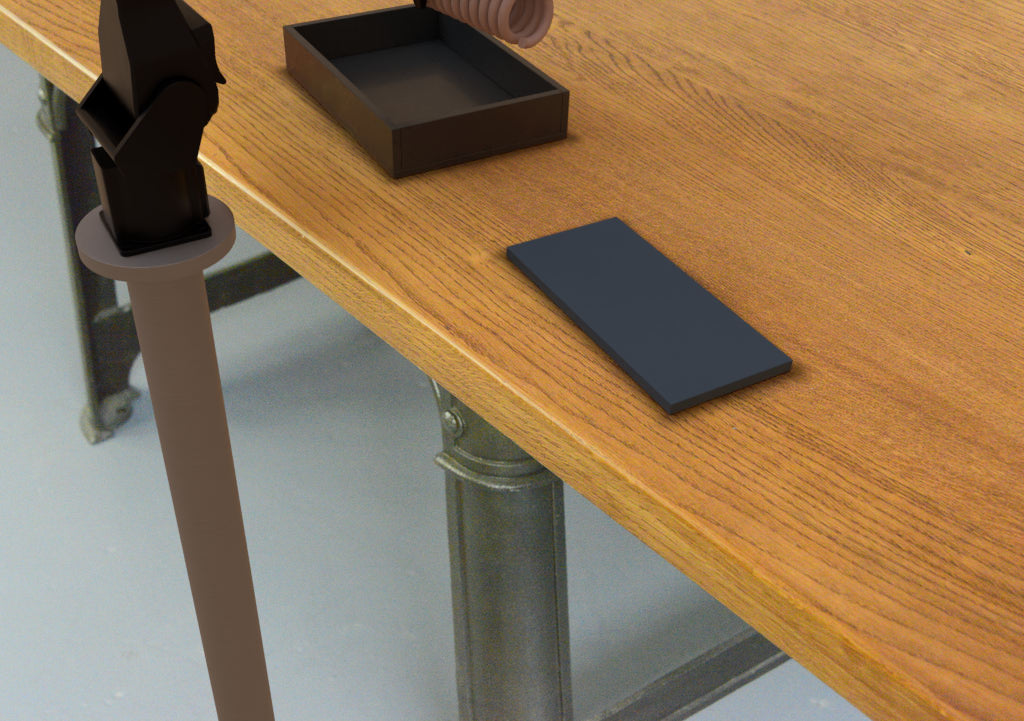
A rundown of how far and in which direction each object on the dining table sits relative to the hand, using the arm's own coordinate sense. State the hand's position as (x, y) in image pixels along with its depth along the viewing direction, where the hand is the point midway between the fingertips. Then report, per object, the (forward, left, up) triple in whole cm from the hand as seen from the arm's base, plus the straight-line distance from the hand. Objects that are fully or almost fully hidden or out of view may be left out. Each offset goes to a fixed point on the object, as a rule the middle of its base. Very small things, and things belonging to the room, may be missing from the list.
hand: (452, 2), depth 86 cm
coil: (0, 0, -1) cm, 1 cm away
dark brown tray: (0, +6, -11) cm, 13 cm away
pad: (-1, -28, -11) cm, 30 cm away
